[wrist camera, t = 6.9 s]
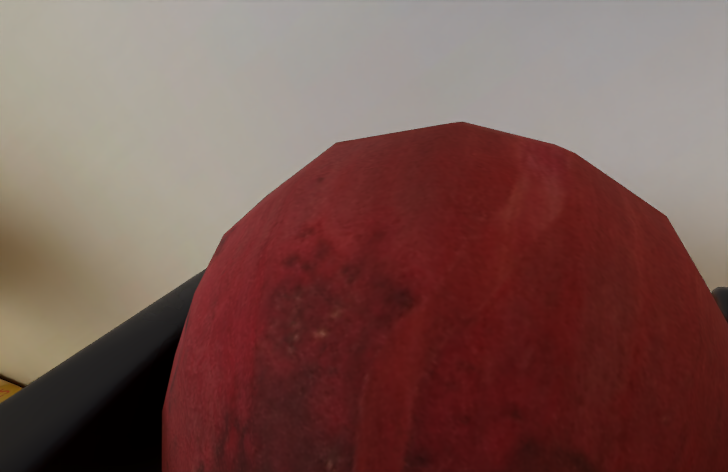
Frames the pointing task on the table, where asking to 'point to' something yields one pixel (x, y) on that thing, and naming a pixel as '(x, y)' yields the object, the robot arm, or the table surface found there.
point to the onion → (450, 321)
